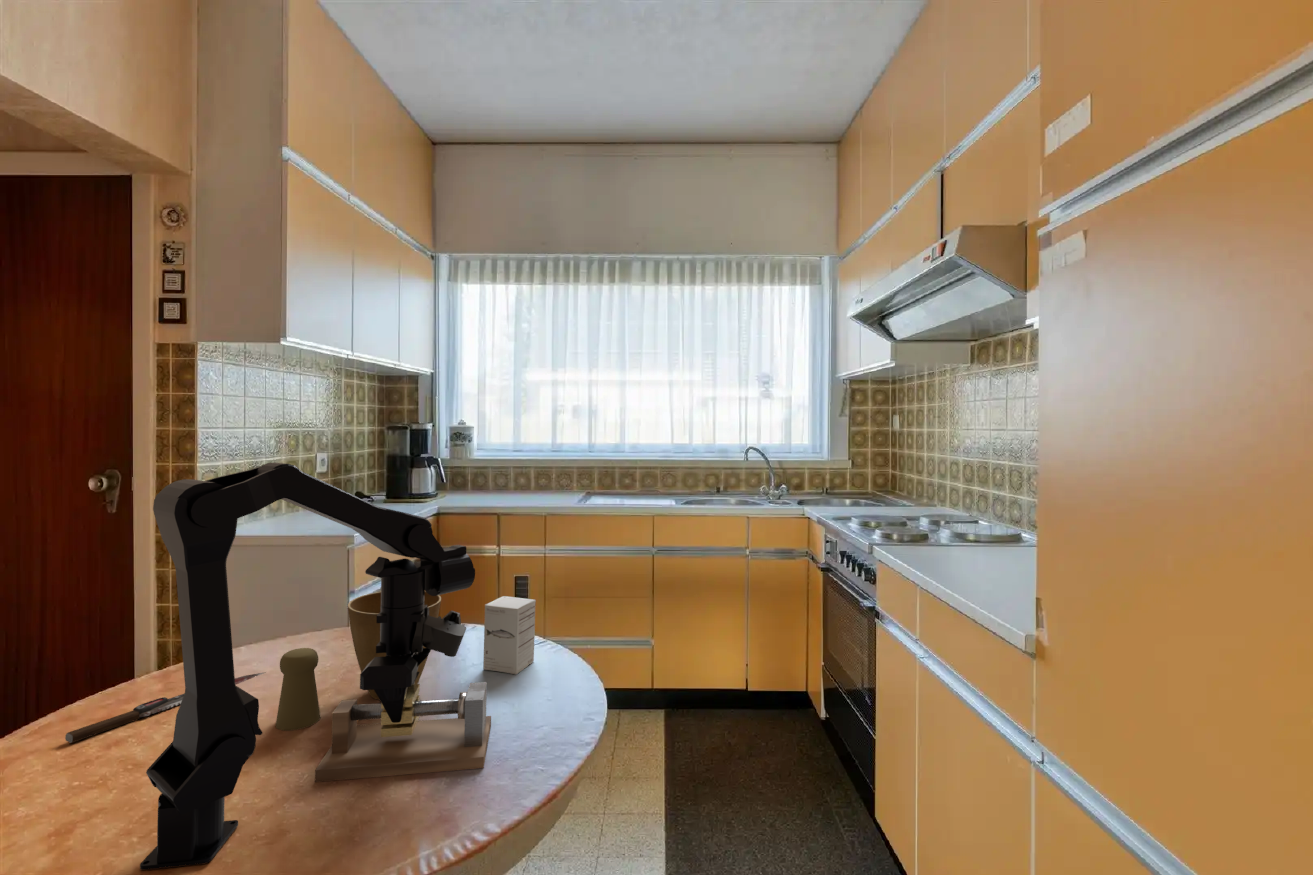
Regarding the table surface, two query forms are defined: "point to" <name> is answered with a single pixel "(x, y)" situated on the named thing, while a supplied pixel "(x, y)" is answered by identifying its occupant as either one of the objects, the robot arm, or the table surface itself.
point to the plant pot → (376, 628)
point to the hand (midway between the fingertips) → (401, 712)
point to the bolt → (444, 711)
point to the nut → (407, 720)
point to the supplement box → (509, 634)
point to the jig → (397, 748)
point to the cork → (298, 690)
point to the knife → (134, 714)
